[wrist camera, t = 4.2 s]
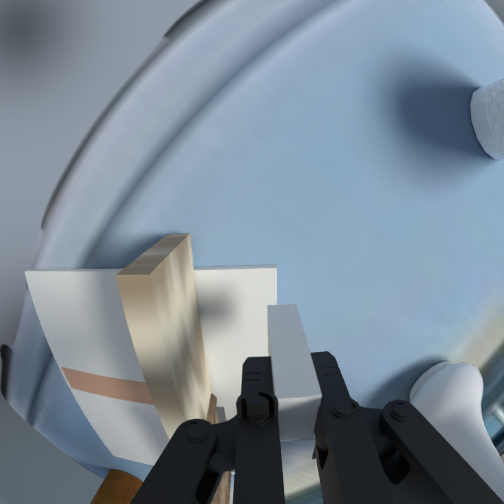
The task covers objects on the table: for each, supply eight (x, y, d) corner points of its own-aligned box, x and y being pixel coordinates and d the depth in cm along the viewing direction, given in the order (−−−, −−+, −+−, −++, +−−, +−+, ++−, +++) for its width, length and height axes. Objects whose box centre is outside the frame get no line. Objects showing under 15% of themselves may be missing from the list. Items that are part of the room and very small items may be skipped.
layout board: (272, 470, 26) (272, 474, 25) (114, 453, 26) (113, 456, 26) (276, 264, 18) (276, 268, 17) (28, 268, 18) (23, 271, 18)
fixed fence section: (232, 472, 25) (228, 526, 17) (216, 471, 25) (210, 524, 17) (215, 391, 20) (202, 475, 12) (192, 390, 21) (172, 471, 12)
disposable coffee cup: (127, 488, 31) (113, 534, 19) (91, 462, 29) (70, 511, 17) (164, 490, 30) (152, 544, 18) (125, 465, 27) (105, 524, 16)
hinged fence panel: (211, 390, 20) (199, 458, 13) (193, 389, 20) (177, 456, 13) (190, 233, 16) (149, 274, 10) (167, 234, 16) (115, 274, 10)
